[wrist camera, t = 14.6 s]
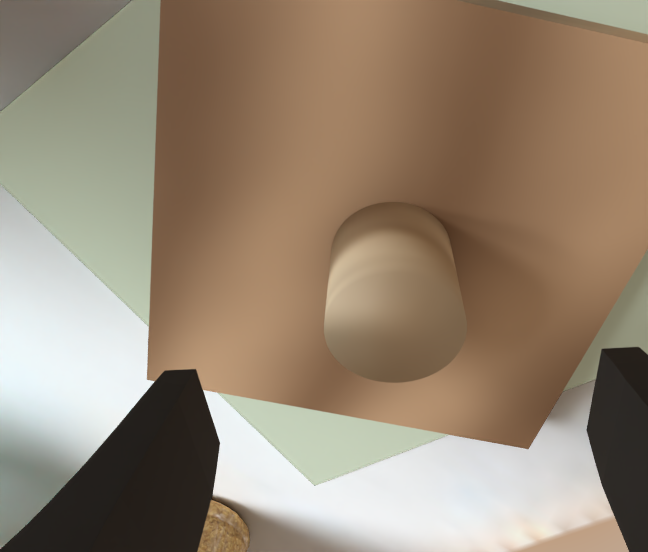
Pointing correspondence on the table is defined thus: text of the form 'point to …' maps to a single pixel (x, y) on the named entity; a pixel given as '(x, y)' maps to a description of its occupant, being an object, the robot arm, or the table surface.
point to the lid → (394, 204)
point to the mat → (137, 210)
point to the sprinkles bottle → (223, 531)
